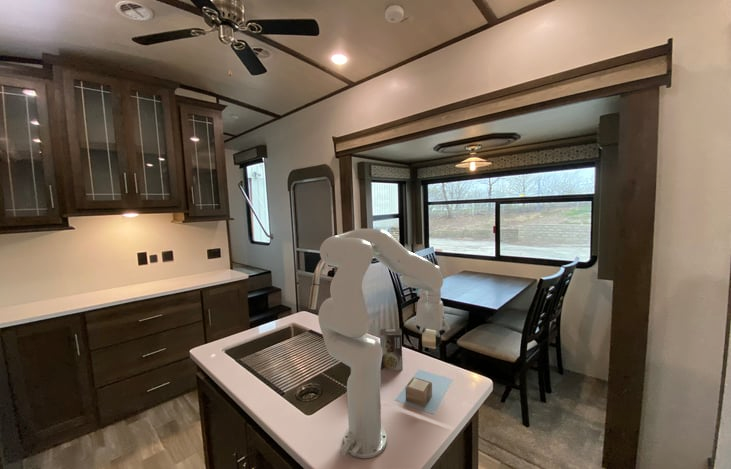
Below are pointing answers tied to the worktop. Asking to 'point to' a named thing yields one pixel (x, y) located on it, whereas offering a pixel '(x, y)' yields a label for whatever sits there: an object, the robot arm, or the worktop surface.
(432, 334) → the maple block
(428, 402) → the board
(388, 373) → the worktop surface
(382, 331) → the coffee box
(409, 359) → the worktop surface
